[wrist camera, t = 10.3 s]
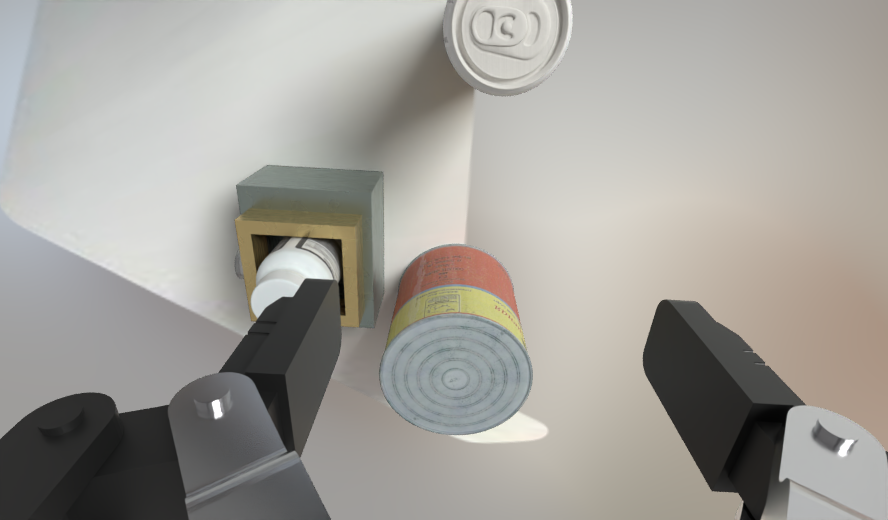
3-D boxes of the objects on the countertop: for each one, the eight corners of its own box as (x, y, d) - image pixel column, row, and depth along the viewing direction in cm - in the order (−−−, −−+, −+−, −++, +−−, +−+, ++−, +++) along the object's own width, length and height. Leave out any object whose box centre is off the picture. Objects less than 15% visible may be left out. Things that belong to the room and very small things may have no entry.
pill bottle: (299, 278, 39) (255, 345, 30) (279, 221, 37) (225, 276, 28) (359, 269, 38) (332, 334, 30) (342, 210, 36) (307, 262, 27)
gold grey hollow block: (243, 163, 38) (190, 193, 31) (383, 171, 38) (365, 203, 31) (261, 285, 44) (220, 337, 36) (384, 292, 44) (368, 345, 36)
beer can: (522, 80, 35) (564, 103, 21) (445, 74, 35) (438, 93, 21) (535, -10, 32) (592, -49, 19) (451, -17, 32) (447, -60, 19)
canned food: (481, 358, 47) (489, 452, 36) (381, 319, 45) (357, 406, 34) (535, 272, 42) (562, 350, 31) (426, 224, 40) (414, 291, 30)
